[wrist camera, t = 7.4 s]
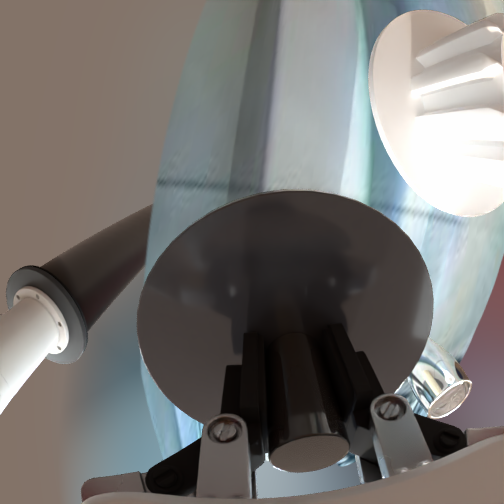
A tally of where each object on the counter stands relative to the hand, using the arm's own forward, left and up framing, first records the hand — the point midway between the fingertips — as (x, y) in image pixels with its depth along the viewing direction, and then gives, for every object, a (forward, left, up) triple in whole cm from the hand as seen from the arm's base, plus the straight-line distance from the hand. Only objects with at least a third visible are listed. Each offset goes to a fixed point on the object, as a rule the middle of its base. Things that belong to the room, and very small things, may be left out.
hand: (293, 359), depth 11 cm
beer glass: (+20, -19, -23) cm, 36 cm away
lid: (0, 0, -1) cm, 1 cm away
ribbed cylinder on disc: (+24, +13, -23) cm, 36 cm away
